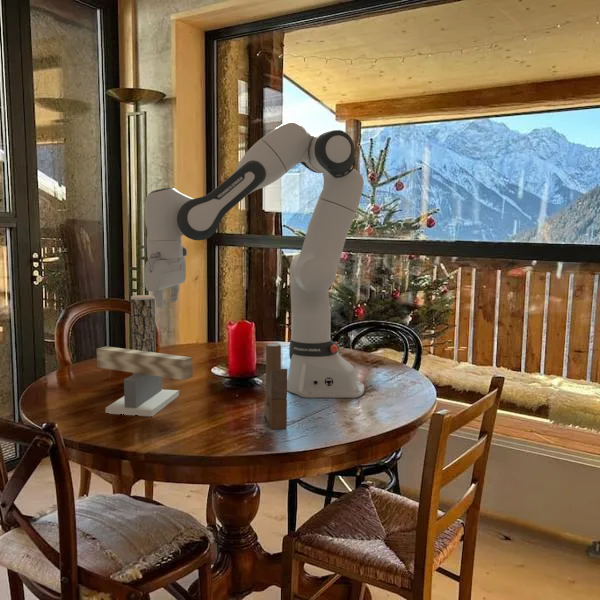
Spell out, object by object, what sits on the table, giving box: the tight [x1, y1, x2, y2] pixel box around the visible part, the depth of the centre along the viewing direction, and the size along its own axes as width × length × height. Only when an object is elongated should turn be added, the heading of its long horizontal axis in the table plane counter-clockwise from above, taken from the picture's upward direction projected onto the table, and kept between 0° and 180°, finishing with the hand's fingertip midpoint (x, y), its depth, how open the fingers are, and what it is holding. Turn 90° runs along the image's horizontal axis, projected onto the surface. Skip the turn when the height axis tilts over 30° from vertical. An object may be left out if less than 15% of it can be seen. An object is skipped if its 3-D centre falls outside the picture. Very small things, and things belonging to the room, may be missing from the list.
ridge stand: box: [105, 373, 180, 417], centre depth 153 cm, size 12×18×8 cm, turn 171°
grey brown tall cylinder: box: [130, 294, 157, 375], centre depth 176 cm, size 7×7×25 cm
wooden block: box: [263, 343, 288, 431], centre depth 140 cm, size 4×11×18 cm, turn 12°
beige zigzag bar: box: [96, 346, 194, 381], centre depth 153 cm, size 28×4×5 cm, turn 65°
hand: (167, 304), depth 157 cm, fingers open, 8 cm apart
